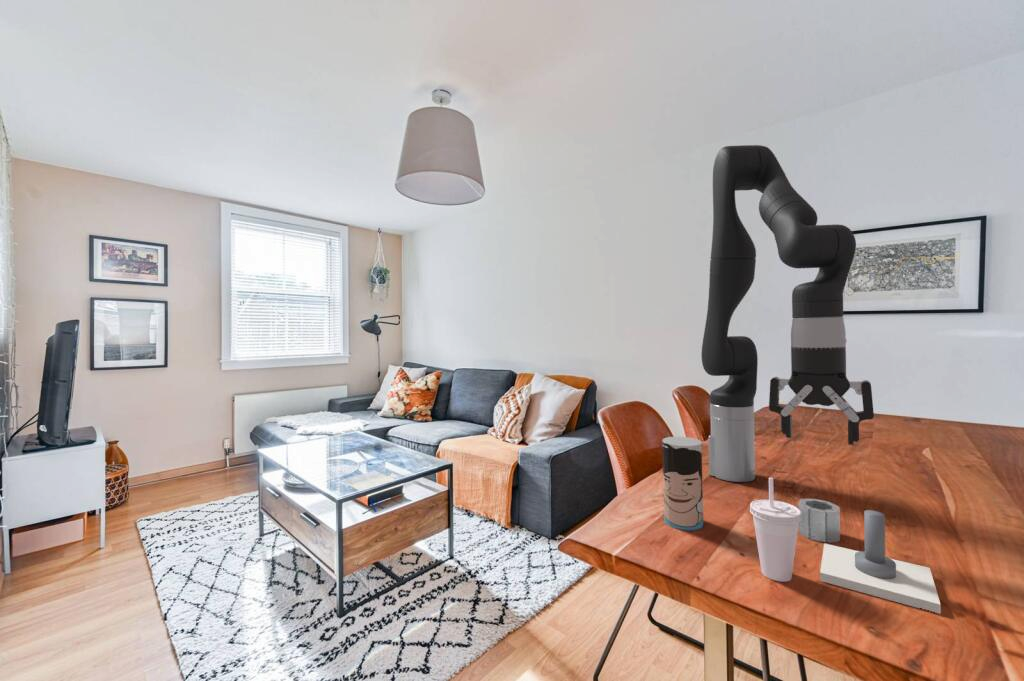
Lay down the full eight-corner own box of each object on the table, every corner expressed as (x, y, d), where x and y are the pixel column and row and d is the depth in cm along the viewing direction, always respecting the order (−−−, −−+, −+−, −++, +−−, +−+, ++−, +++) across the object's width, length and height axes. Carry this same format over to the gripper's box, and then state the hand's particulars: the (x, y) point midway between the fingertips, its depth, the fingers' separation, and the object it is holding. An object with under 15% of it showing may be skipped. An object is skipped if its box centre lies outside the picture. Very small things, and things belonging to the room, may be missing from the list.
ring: (797, 536, 73) (797, 507, 73) (801, 524, 77) (800, 496, 77) (839, 545, 69) (838, 515, 69) (840, 532, 74) (839, 503, 74)
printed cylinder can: (656, 518, 81) (654, 439, 81) (683, 511, 84) (681, 435, 84) (683, 533, 75) (681, 447, 75) (711, 525, 78) (710, 442, 77)
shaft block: (820, 580, 60) (819, 515, 60) (824, 550, 68) (823, 493, 68) (940, 614, 53) (940, 539, 52) (929, 576, 60) (929, 511, 60)
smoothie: (741, 563, 65) (739, 471, 65) (781, 560, 66) (780, 469, 65) (770, 589, 59) (768, 487, 58) (814, 585, 59) (813, 484, 59)
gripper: (765, 345, 74) (767, 439, 74) (873, 345, 65) (875, 452, 65) (771, 344, 80) (773, 431, 80) (871, 343, 71) (873, 441, 71)
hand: (819, 440), depth 73 cm, fingers open, 8 cm apart
